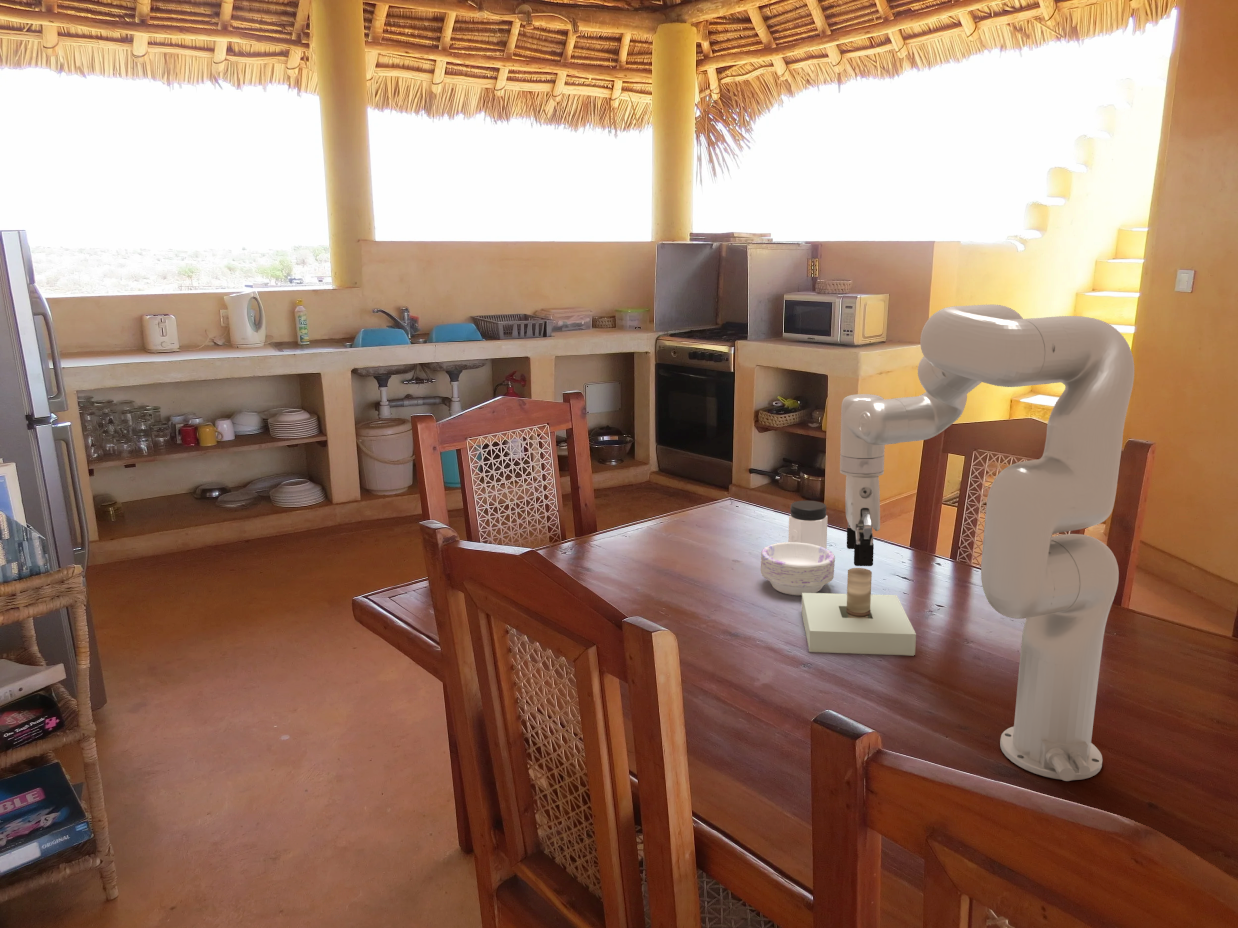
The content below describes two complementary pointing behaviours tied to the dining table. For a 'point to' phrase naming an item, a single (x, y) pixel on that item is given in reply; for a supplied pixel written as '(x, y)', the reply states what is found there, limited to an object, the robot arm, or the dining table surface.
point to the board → (857, 626)
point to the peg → (858, 593)
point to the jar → (808, 523)
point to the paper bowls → (797, 567)
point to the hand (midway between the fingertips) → (859, 556)
